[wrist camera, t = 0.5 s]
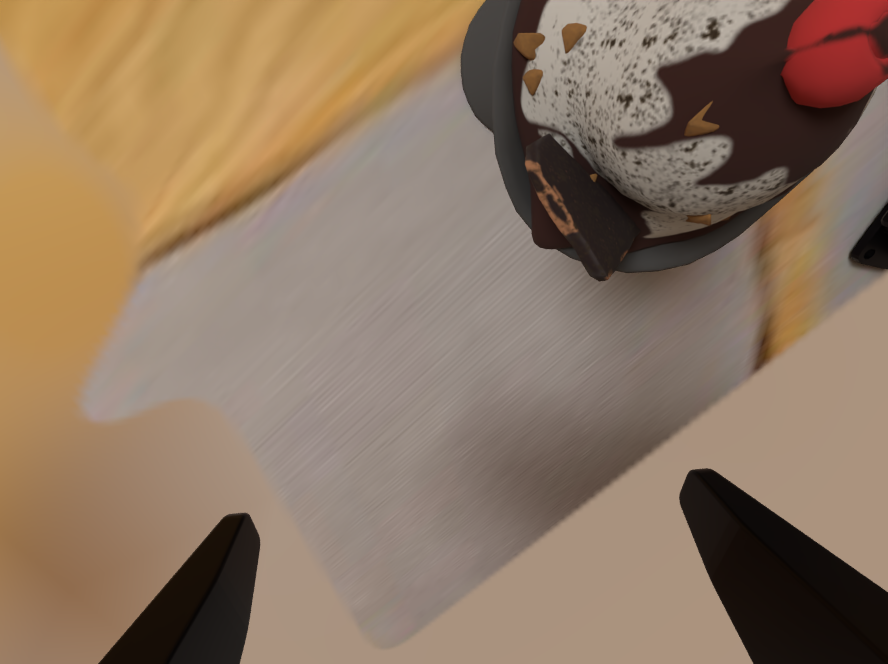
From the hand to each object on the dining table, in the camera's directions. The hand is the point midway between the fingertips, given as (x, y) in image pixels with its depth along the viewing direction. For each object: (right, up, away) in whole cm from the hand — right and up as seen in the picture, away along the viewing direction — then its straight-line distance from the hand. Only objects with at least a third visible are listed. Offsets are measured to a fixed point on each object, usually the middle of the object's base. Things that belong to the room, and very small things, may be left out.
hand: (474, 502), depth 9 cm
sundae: (+2, +13, +7) cm, 15 cm away
